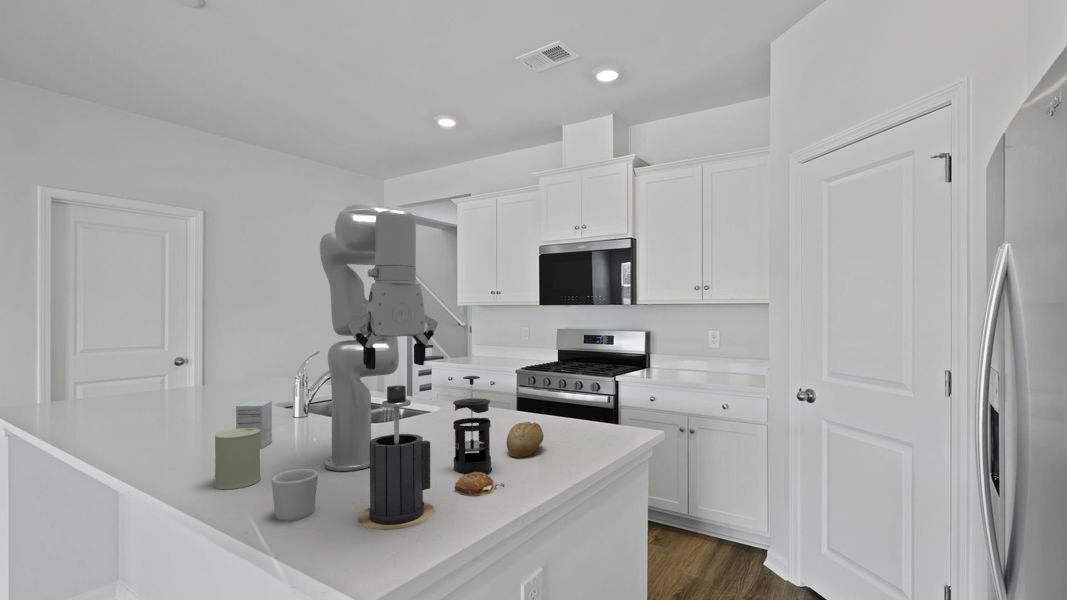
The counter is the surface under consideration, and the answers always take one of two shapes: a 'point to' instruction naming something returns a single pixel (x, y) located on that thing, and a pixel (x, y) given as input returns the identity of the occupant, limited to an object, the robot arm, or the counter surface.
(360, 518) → the trivet
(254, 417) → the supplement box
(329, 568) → the counter surface
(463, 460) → the french press
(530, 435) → the bread roll
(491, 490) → the hamburger
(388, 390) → the plunger
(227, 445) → the can
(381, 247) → the robot arm
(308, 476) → the cup
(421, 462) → the dark slatted tankard
